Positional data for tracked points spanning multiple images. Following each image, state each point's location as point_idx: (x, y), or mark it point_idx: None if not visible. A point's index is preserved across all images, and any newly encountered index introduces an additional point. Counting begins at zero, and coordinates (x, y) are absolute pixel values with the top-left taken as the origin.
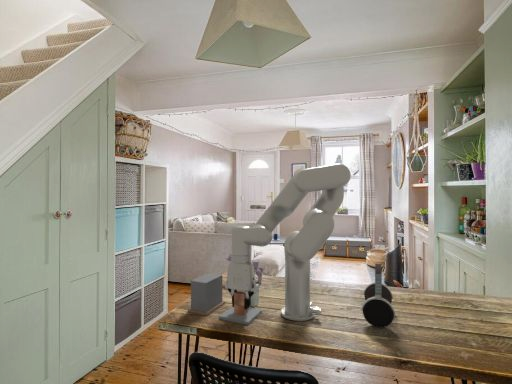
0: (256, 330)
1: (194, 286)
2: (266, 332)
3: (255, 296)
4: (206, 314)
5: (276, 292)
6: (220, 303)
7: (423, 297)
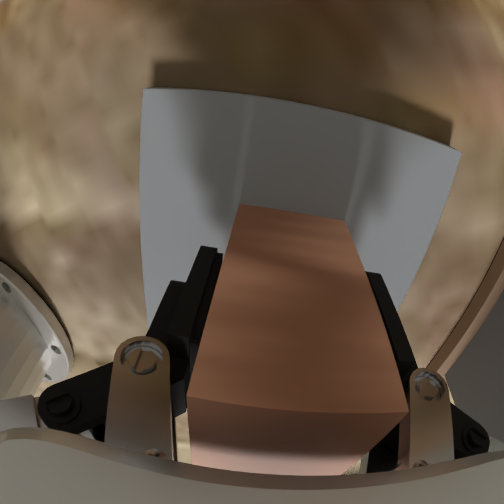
0: (70, 37)
1: None
2: (16, 53)
3: None
4: None
5: None
6: (456, 353)
7: None
